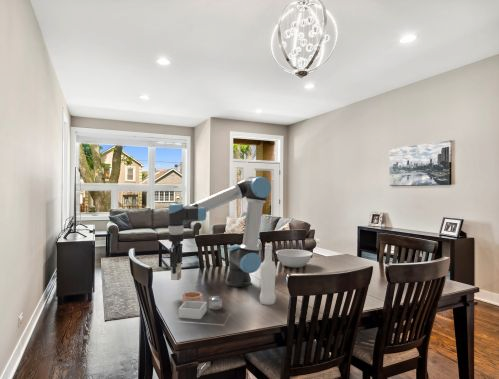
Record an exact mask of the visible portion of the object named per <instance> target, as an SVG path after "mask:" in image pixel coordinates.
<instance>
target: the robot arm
mask: <svg viewBox="0 0 499 379" xmlns="http://www.w3.org/2000/svg"><path fill="white" fill-rule="evenodd" d="M271 191H272V184H271V182H270V181H269V180H268V178H266V177H264V176H249V177H247V178H245V179H242V180H240V181H238V182H237V183H234V184H233V186H231V187H229V188H227V189H224V190H221V191H219V192H218V193H215V194H212V195H210V196H208V197H206V198H203V199H201V200H198V201H196V202H194V203H191V204H187V205H185V206H184V204H183V203H171V204H169V205H168V212H167V214H168V227H167V229H168V233H169V234H168V242H169V243H171V247H169V249H168V250H169V267H170V268H171V267H172V280H171V281H179V280H178V267H177V263H181V265H183V243H181V242H183V241H184V233H185V231H184V229H185V228H184V222H186V223H187V222H203V221H205V220H206V218H207V213H208V212H210V211H212V210H214V209H217V208H220V207H221V206H223V205H226V204H228V203H230V202H233V201H235V200H238V199H240V200H242V199H244V198H245V199H246V201H247V208H246V209H247V210H246V214H245V215H246V216H245V223H244V232H243V237H242V238H243V239H242V243H241V244H237V245H236V244H235V245H231V246H229V249H228V250H229V251H228V254H229V256H228V258H229V260H228V262H229V263H228V273H227V274H226V279H225V284H226V285H227V286H230V287H235V288H236V287H237V288H239V287H241V288H243V287H249V286H250V285H252V278H251V275H250V274H252V273H255V272H257V271H258V270H259V269H260V267H261V264H262V259H261V256H260V255H259V254H260V250H261V249H260V248H259V246H258V245H259V243H258V242H259V238H260V231H261V230H260V228H261V222H262V216H263V215H262V214H263V207H264V204H265V203H266V202H267V198H268V196H269V195H270V194H271Z"/></svg>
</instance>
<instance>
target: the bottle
mask: <svg viewBox="0 0 499 379" xmlns="http://www.w3.org/2000/svg"><path fill="white" fill-rule="evenodd" d="M264 246H265V247H264V260H263V261H261V265H260V267H259V269H260V270H259V271H260V293H259V302H260V304H262V305H265V306H271V305H274V304H275V303H276V292H275V288H276V287H275V286H276V284H275V283H276V272H277V267H276V264H275V262H274V261H273V244H272V243H270V242H269V243H265V244H264Z"/></svg>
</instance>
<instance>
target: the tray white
mask: <svg viewBox="0 0 499 379" xmlns="http://www.w3.org/2000/svg"><path fill="white" fill-rule="evenodd" d="M207 306H208V305H207V301H202V302H199V301H185V302H184V303H183V304H180V306H179V307H178V318H181V319H193V320H201V319H202V318H203V317H204V315H205V313H206V312H207V311H208V310H207V308H208V307H207Z"/></svg>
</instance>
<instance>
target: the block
mask: <svg viewBox="0 0 499 379" xmlns="http://www.w3.org/2000/svg"><path fill="white" fill-rule="evenodd" d="M181 263H182V262H181ZM181 263H177V267H178V280H177V281H180V280H181V279H182V264H181ZM170 280H171V281H173V280H172V267H170Z"/></svg>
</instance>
